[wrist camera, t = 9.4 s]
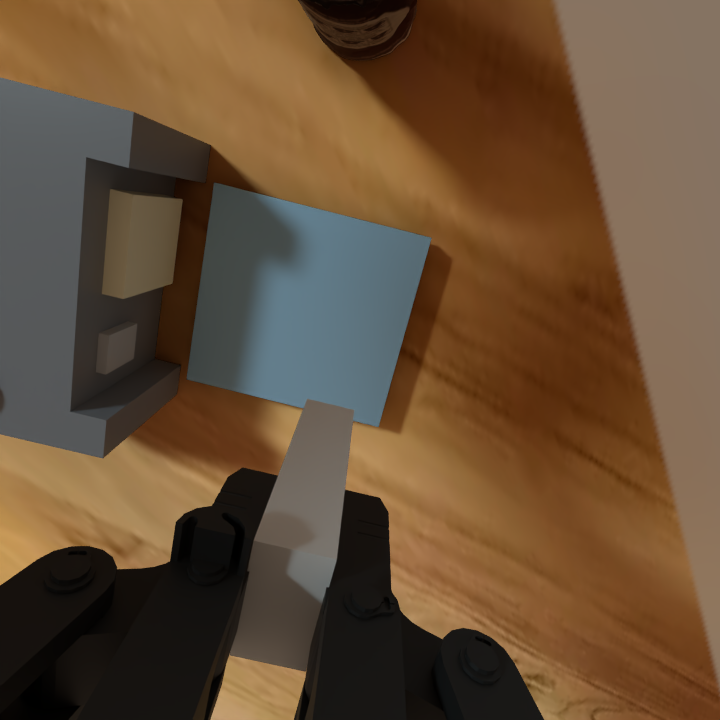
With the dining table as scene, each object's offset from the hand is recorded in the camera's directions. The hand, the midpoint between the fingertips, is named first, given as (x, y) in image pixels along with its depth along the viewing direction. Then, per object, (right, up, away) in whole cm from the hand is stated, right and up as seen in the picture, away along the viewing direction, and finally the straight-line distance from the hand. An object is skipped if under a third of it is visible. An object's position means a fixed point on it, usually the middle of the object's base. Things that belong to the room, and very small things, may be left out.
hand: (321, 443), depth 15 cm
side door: (-9, +8, +18) cm, 22 cm away
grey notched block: (-16, +10, +18) cm, 26 cm away
